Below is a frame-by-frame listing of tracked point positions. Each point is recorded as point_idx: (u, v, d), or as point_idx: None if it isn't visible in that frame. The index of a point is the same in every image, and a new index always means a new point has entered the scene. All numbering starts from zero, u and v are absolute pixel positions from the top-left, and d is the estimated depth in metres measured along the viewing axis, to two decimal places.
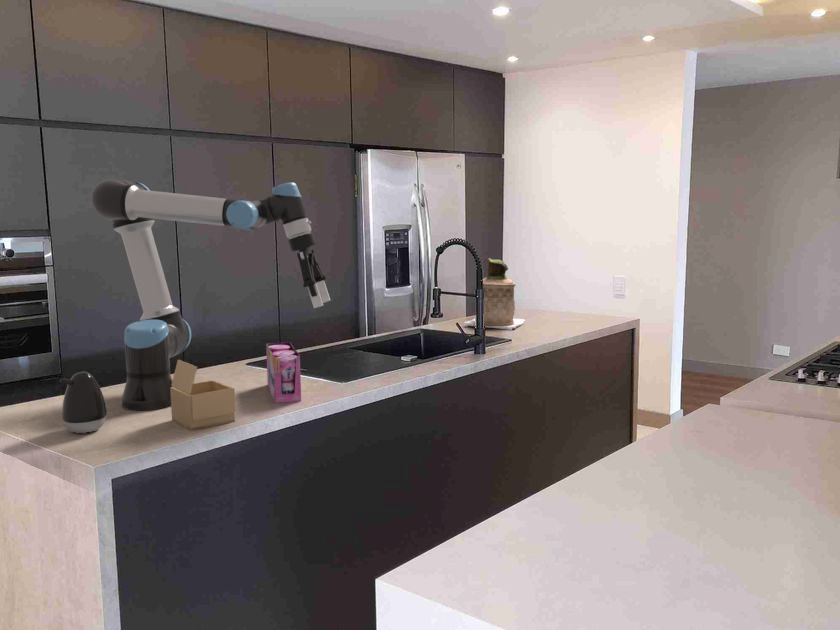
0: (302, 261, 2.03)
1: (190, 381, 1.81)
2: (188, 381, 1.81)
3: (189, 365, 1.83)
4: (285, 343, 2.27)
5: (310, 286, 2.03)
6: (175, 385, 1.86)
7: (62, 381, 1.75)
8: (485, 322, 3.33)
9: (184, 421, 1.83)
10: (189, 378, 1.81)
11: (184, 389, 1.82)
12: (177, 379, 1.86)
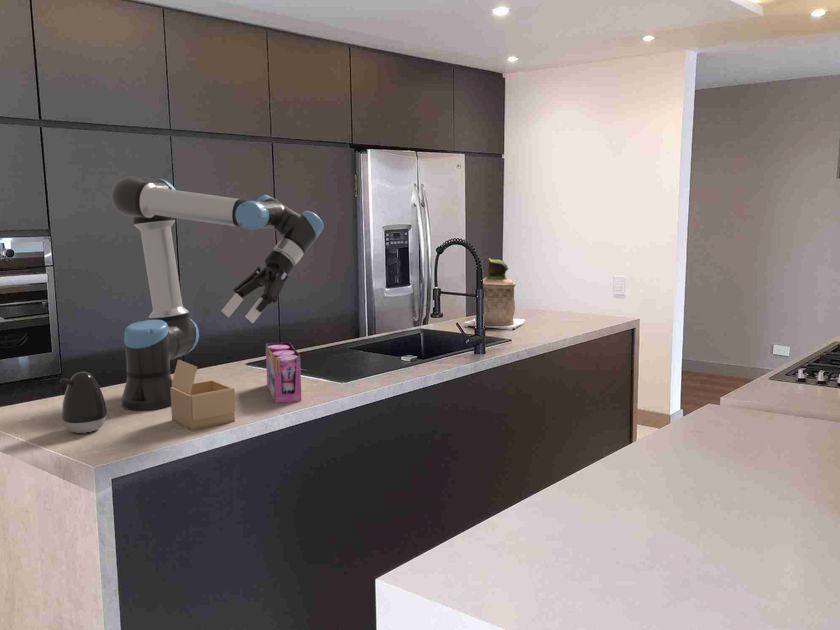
0: (280, 279, 1.92)
1: (190, 381, 1.81)
2: (188, 381, 1.81)
3: (189, 365, 1.83)
4: (284, 343, 2.27)
5: (266, 301, 1.88)
6: (175, 385, 1.86)
7: (62, 381, 1.75)
8: (485, 322, 3.33)
9: (184, 421, 1.83)
10: (189, 378, 1.81)
11: (184, 389, 1.82)
12: (177, 379, 1.86)
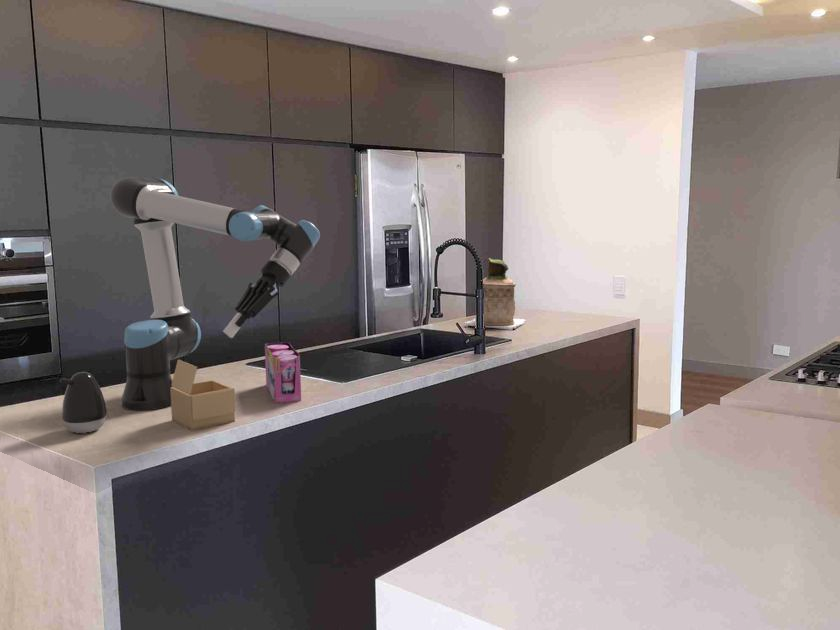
0: (267, 296, 1.91)
1: (190, 381, 1.81)
2: (188, 381, 1.81)
3: (189, 365, 1.83)
4: (284, 343, 2.27)
5: (245, 316, 1.91)
6: (175, 385, 1.86)
7: (62, 381, 1.75)
8: (485, 322, 3.33)
9: (184, 421, 1.83)
10: (189, 378, 1.81)
11: (184, 389, 1.82)
12: (177, 379, 1.86)
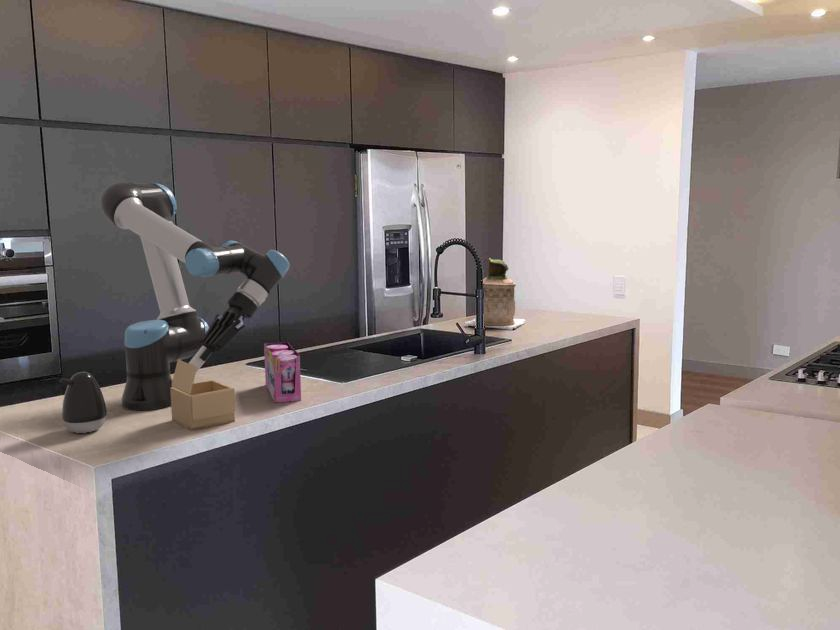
0: (233, 329, 1.86)
1: (190, 381, 1.81)
2: (188, 381, 1.81)
3: (189, 365, 1.83)
4: (283, 343, 2.27)
5: (210, 350, 1.86)
6: (175, 385, 1.86)
7: (62, 381, 1.75)
8: (485, 322, 3.33)
9: (184, 421, 1.83)
10: (189, 378, 1.81)
11: (184, 389, 1.82)
12: (177, 379, 1.86)
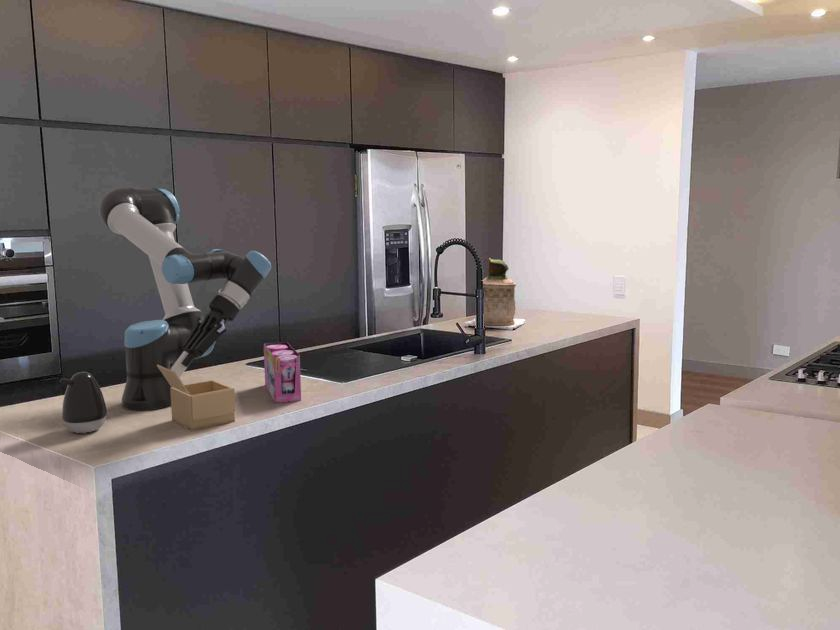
0: (215, 333, 1.83)
1: (180, 384, 1.79)
2: (179, 384, 1.80)
3: (168, 371, 1.79)
4: (282, 343, 2.27)
5: (192, 355, 1.82)
6: (173, 386, 1.86)
7: (62, 381, 1.75)
8: (486, 322, 3.33)
9: (184, 421, 1.83)
10: (178, 382, 1.79)
11: (182, 390, 1.82)
12: (170, 381, 1.85)
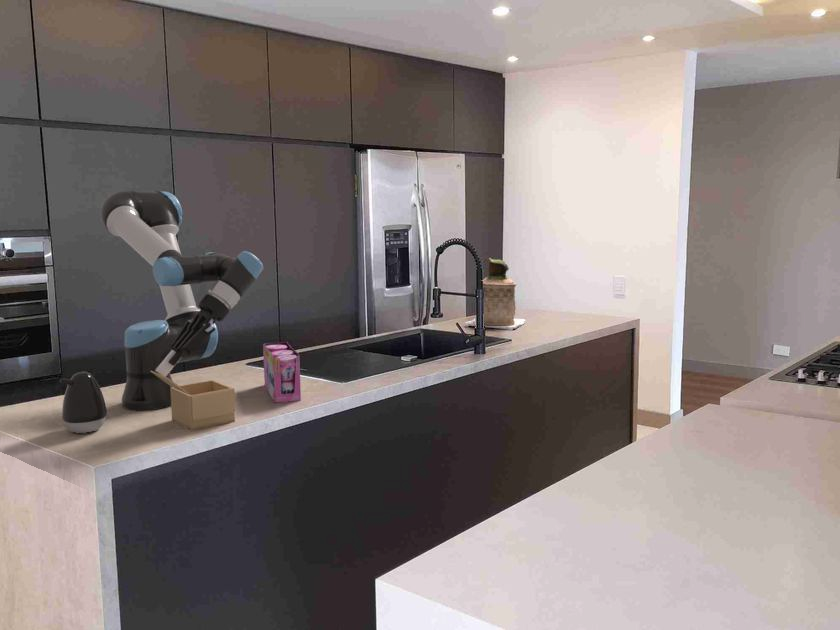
0: (203, 333, 1.81)
1: (178, 387, 1.79)
2: (177, 387, 1.80)
3: (162, 377, 1.79)
4: (282, 343, 2.27)
5: (179, 354, 1.80)
6: (172, 386, 1.86)
7: (62, 381, 1.75)
8: (486, 322, 3.33)
9: (184, 421, 1.83)
10: (174, 385, 1.79)
11: (182, 391, 1.82)
12: (168, 383, 1.85)
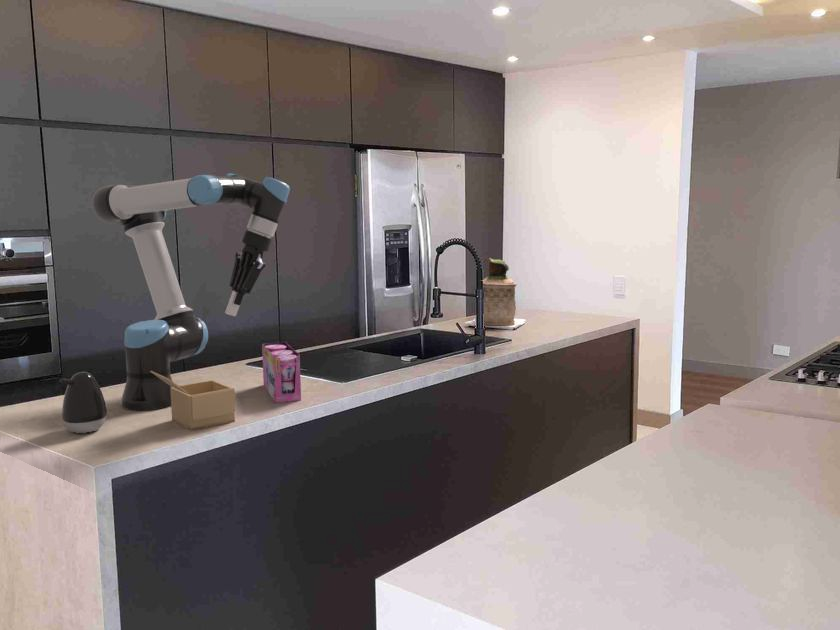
0: (255, 271, 1.92)
1: (178, 387, 1.79)
2: (177, 387, 1.80)
3: (162, 377, 1.79)
4: (281, 343, 2.27)
5: (241, 294, 1.95)
6: (172, 386, 1.86)
7: (62, 381, 1.75)
8: (486, 322, 3.33)
9: (184, 421, 1.83)
10: (174, 385, 1.79)
11: (182, 391, 1.82)
12: (168, 383, 1.85)
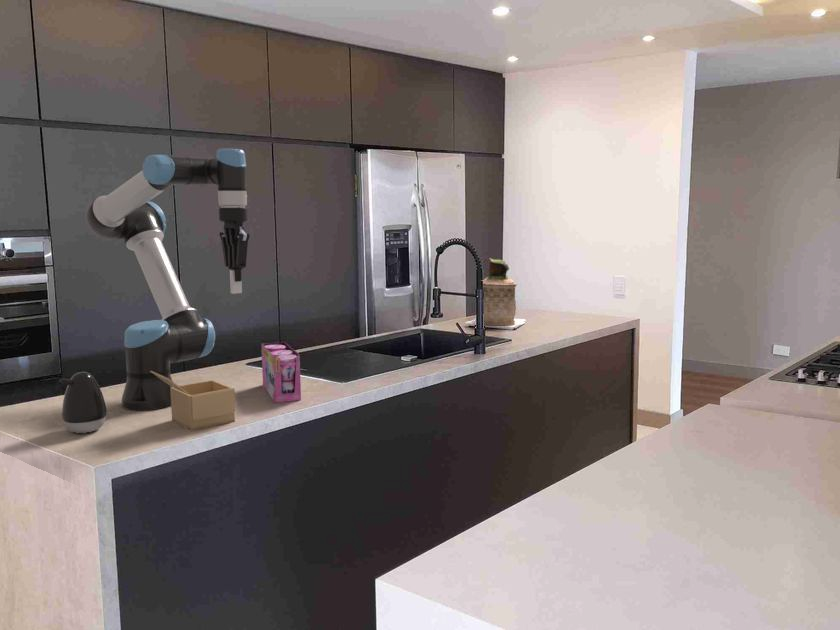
0: (242, 243, 1.92)
1: (178, 387, 1.79)
2: (177, 387, 1.80)
3: (162, 377, 1.79)
4: (280, 343, 2.27)
5: (238, 270, 1.95)
6: (172, 386, 1.86)
7: (62, 381, 1.75)
8: (486, 322, 3.33)
9: (184, 421, 1.83)
10: (174, 385, 1.79)
11: (182, 391, 1.82)
12: (168, 383, 1.85)
